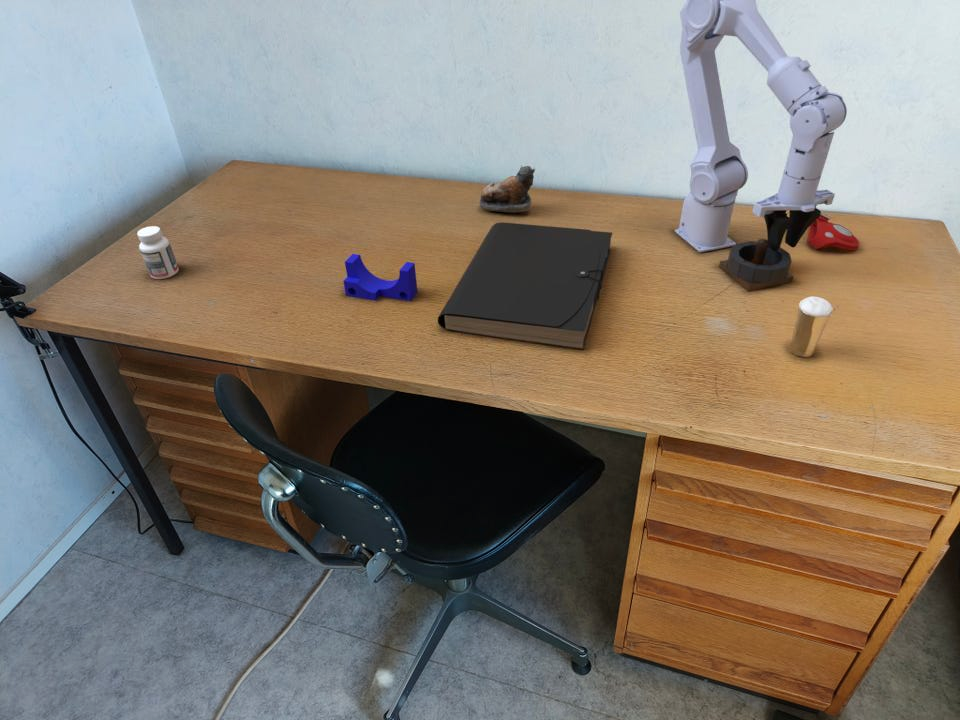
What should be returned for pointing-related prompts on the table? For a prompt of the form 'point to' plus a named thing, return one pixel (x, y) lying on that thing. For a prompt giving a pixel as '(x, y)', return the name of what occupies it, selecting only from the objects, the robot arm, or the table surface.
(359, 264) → the blue cradle bracket
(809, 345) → the milkshake
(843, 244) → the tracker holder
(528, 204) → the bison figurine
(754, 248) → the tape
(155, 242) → the pill bottle
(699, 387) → the table surface
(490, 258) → the dark grey book
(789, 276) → the brown peg stand
